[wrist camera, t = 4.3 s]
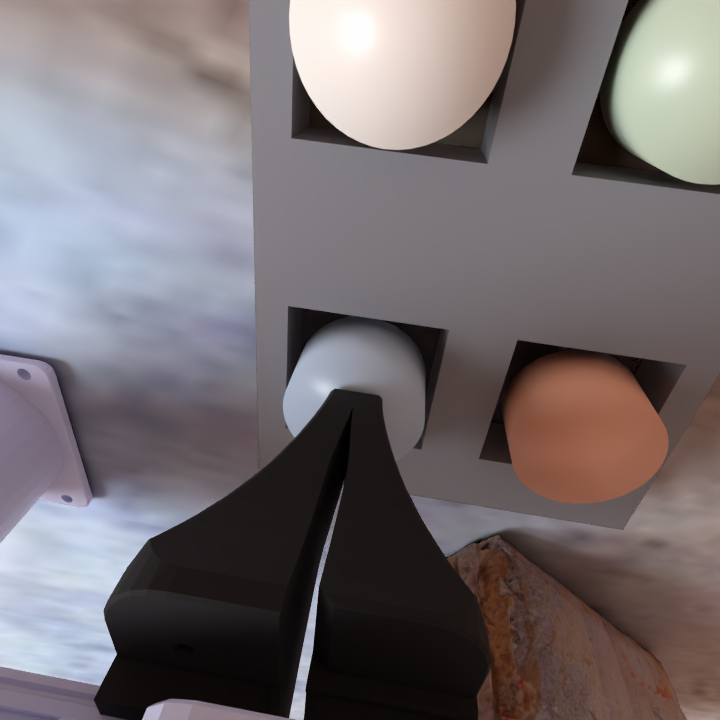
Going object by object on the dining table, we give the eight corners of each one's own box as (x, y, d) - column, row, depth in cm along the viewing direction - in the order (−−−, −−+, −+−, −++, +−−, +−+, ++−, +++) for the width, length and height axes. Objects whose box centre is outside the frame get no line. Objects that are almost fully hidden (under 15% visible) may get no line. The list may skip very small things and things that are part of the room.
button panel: (273, 433, 19) (258, 469, 18) (275, -266, 9) (242, -335, 8) (605, 486, 19) (623, 529, 17) (984, -203, 9) (1116, -263, 7)
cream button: (309, 122, 12) (286, 136, 10) (318, -103, 9) (291, -139, 8) (475, 144, 11) (484, 162, 10) (524, -81, 9) (547, -113, 7)
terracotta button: (488, 441, 16) (495, 491, 14) (521, 340, 14) (535, 383, 12) (608, 460, 16) (631, 513, 14) (661, 360, 14) (697, 408, 12)
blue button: (298, 411, 17) (281, 456, 15) (302, 307, 14) (284, 345, 13) (414, 429, 16) (412, 477, 15) (436, 327, 14) (437, 368, 12)
